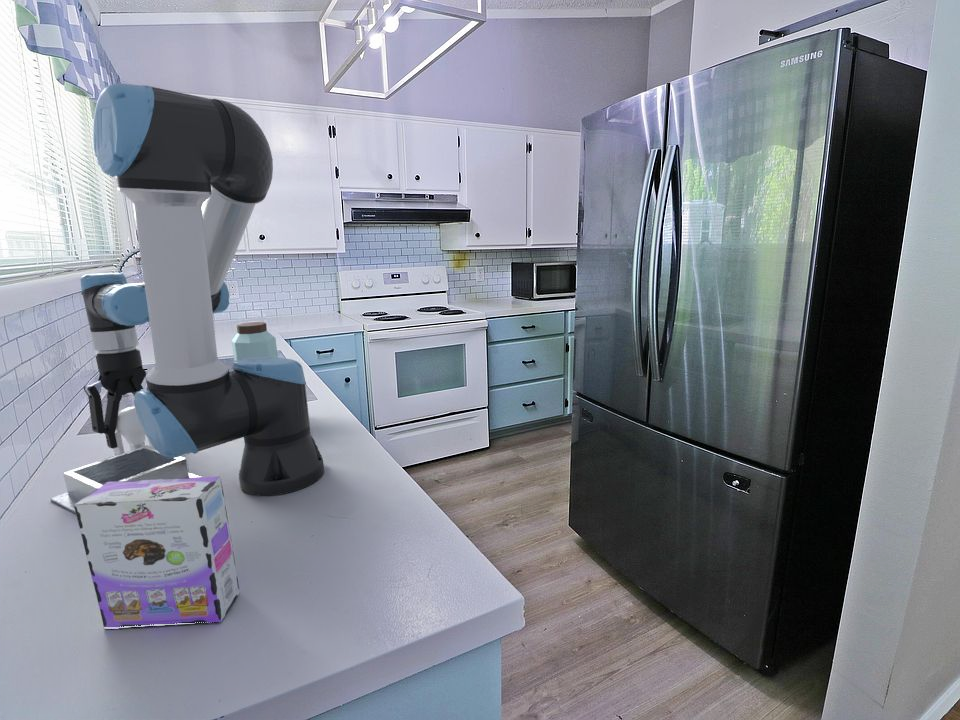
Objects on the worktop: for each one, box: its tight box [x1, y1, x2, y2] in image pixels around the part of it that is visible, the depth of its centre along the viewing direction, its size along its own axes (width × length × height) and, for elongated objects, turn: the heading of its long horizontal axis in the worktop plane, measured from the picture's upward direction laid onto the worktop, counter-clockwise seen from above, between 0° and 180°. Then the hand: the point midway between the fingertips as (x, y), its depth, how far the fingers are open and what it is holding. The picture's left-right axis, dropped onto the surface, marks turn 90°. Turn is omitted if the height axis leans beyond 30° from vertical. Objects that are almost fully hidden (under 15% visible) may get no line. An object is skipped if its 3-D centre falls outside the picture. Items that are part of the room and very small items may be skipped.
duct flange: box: [50, 444, 201, 515], centre depth 94 cm, size 18×18×5 cm
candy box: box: [74, 475, 241, 628], centre depth 61 cm, size 14×6×16 cm, turn 92°
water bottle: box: [231, 321, 279, 362], centre depth 127 cm, size 10×10×25 cm
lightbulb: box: [116, 406, 146, 451], centre depth 109 cm, size 6×6×11 cm
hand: (138, 454), depth 110 cm, fingers closed on lightbulb, 6 cm apart
